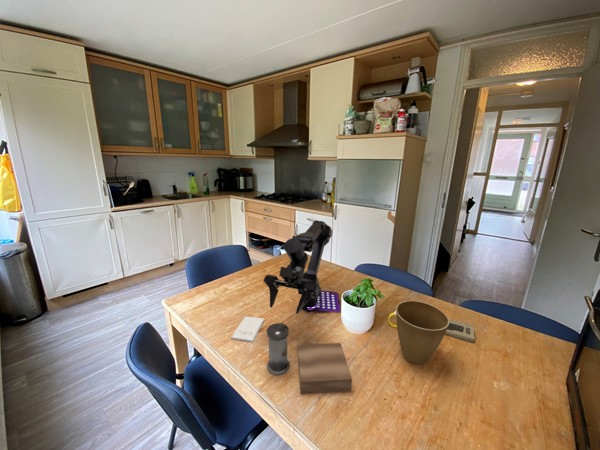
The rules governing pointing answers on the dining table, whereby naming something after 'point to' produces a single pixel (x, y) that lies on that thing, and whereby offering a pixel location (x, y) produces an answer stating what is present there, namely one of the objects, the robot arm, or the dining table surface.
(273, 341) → the cylinder
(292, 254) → the robot arm
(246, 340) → the external hard drive
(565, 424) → the dining table surface
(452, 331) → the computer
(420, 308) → the brown hollow tapered container
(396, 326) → the watch
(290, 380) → the dining table surface
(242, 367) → the dining table surface
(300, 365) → the stand
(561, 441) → the dining table surface
